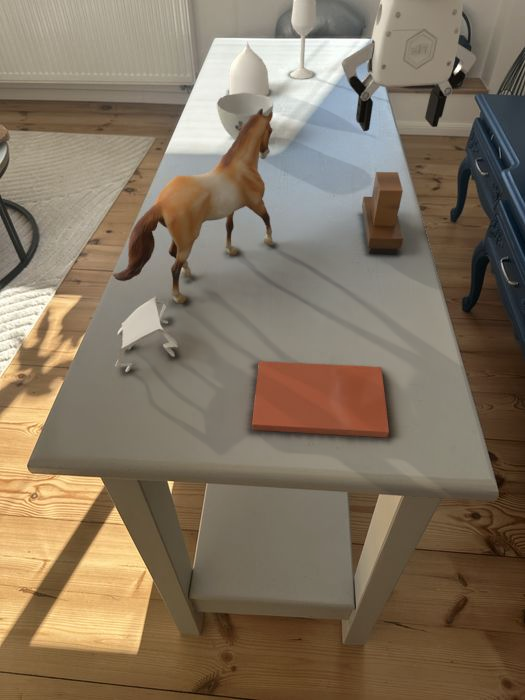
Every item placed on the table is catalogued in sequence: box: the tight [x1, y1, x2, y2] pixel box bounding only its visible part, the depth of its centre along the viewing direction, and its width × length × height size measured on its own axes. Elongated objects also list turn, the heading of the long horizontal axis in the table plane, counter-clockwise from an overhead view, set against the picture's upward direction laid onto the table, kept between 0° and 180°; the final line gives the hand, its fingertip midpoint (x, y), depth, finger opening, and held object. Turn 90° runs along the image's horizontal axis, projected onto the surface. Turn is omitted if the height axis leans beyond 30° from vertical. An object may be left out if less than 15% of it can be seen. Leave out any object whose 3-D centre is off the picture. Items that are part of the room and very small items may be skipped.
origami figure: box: [114, 296, 179, 373], centre depth 66 cm, size 12×8×5 cm
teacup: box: [216, 92, 274, 141], centre depth 110 cm, size 15×12×8 cm
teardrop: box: [228, 41, 270, 97], centre depth 127 cm, size 11×11×12 cm
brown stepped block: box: [361, 171, 404, 256], centre depth 81 cm, size 13×5×10 cm, turn 177°
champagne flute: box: [289, 0, 317, 80], centre depth 131 cm, size 7×7×24 cm
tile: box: [251, 360, 390, 438], centre depth 60 cm, size 16×10×1 cm, turn 86°
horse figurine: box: [111, 109, 274, 305], centre depth 71 cm, size 31×8×21 cm, turn 134°
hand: (397, 125), depth 68 cm, fingers open, 9 cm apart
